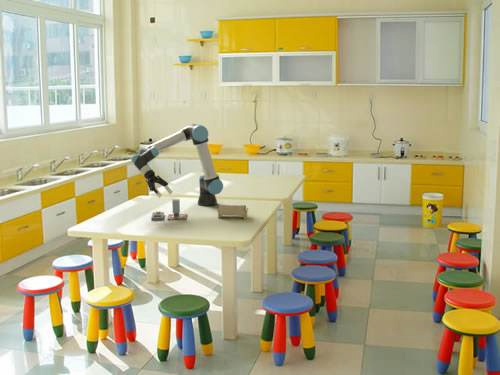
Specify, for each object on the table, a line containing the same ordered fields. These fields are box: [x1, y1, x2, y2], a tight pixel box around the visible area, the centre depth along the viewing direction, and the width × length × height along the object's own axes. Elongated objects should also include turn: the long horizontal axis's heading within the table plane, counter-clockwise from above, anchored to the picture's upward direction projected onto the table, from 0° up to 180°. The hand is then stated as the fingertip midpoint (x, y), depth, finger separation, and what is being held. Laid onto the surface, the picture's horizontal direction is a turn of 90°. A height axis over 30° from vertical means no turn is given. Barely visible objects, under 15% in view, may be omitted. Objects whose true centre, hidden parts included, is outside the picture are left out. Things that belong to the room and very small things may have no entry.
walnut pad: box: [166, 213, 188, 221], centre depth 456 cm, size 13×16×1 cm
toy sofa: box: [216, 204, 249, 220], centre depth 456 cm, size 21×9×10 cm, turn 83°
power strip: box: [151, 210, 165, 222], centre depth 456 cm, size 18×8×4 cm, turn 5°
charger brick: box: [172, 198, 181, 217], centre depth 456 cm, size 5×5×12 cm
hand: (166, 194), depth 457 cm, fingers open, 13 cm apart
